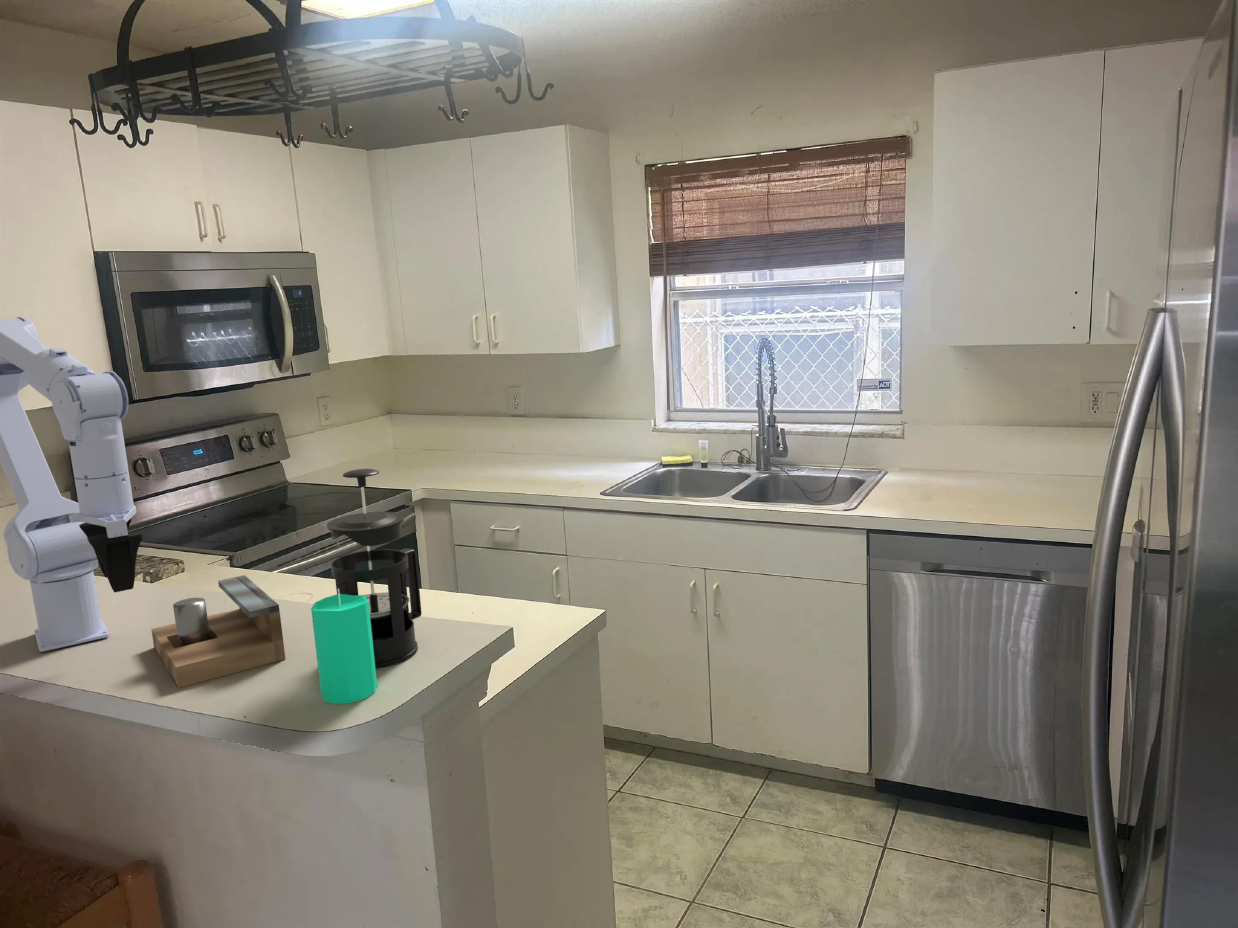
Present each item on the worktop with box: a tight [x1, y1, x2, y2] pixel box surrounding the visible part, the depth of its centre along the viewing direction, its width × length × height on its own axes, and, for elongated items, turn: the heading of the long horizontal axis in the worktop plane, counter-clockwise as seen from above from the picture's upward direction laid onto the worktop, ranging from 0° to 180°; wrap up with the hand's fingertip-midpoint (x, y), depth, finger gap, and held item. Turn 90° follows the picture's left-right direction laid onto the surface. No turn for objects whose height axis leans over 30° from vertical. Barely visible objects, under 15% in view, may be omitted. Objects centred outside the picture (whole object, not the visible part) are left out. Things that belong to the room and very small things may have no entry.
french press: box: [326, 468, 422, 669], centre depth 108 cm, size 12×9×23 cm
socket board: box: [151, 574, 286, 688], centre depth 112 cm, size 16×12×7 cm
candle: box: [310, 589, 378, 705], centre depth 98 cm, size 6×6×12 cm
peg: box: [172, 597, 211, 647], centre depth 111 cm, size 4×4×7 cm
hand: (118, 582), depth 110 cm, fingers open, 7 cm apart
